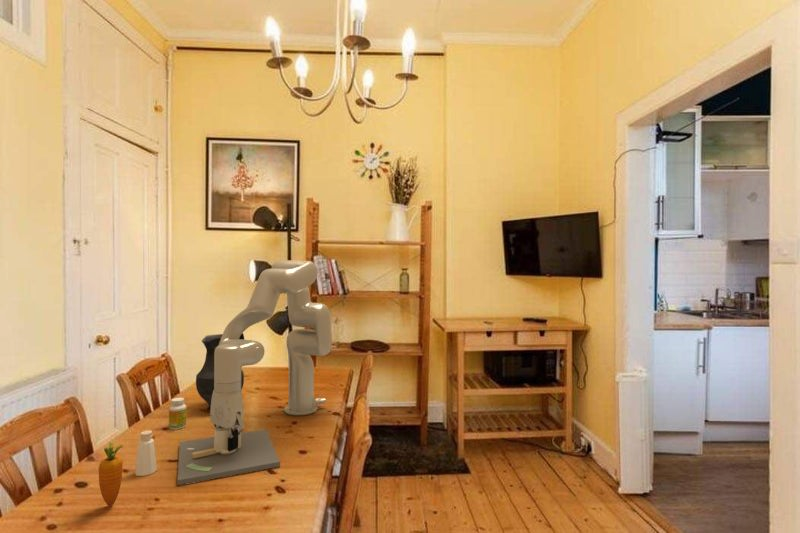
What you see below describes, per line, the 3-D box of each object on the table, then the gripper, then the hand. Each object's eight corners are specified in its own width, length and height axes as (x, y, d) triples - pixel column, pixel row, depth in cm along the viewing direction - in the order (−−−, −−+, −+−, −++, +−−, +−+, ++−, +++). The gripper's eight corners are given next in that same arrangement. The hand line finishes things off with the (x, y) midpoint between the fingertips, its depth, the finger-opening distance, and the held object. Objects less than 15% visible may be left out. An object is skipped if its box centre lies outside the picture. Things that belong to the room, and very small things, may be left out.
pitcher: (185, 411, 168) (186, 333, 167) (226, 396, 187) (226, 326, 187) (221, 418, 161) (221, 337, 161) (259, 401, 181) (259, 329, 180)
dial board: (265, 433, 148) (265, 428, 148) (280, 466, 125) (280, 461, 125) (179, 446, 137) (179, 441, 137) (177, 486, 114) (177, 479, 114)
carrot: (105, 501, 106) (105, 439, 106) (127, 500, 107) (127, 439, 106) (93, 512, 101) (93, 448, 101) (115, 512, 102) (116, 447, 101)
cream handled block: (237, 445, 135) (237, 423, 135) (241, 451, 131) (242, 428, 131) (191, 455, 128) (191, 431, 127) (194, 461, 123) (194, 437, 123)
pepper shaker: (141, 478, 117) (141, 437, 117) (130, 472, 120) (130, 432, 120) (161, 470, 122) (161, 430, 122) (150, 465, 125) (150, 426, 125)
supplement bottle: (179, 430, 150) (179, 402, 150) (165, 429, 151) (165, 401, 151) (189, 424, 155) (189, 397, 155) (176, 423, 156) (176, 396, 156)
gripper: (199, 384, 132) (198, 444, 132) (235, 394, 123) (234, 459, 123) (221, 379, 138) (220, 436, 139) (257, 388, 129) (256, 449, 129)
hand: (227, 446), depth 131 cm, fingers closed on cream handled block, 4 cm apart
